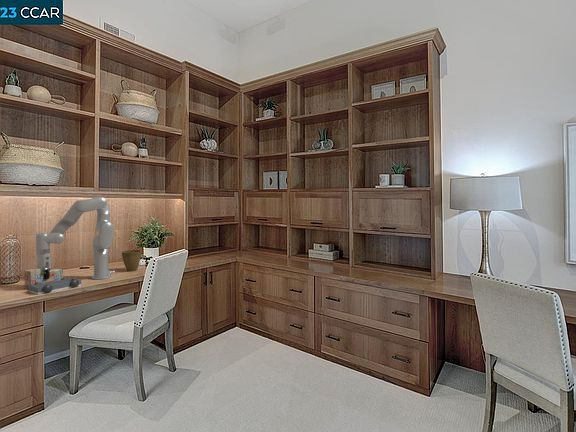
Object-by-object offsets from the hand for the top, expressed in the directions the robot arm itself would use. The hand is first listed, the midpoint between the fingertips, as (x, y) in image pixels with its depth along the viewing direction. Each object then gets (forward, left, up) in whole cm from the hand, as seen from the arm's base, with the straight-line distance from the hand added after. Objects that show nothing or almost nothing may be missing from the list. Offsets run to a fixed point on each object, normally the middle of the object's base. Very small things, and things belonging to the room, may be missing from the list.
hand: (43, 277), depth 227 cm
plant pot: (-62, +5, -6) cm, 62 cm away
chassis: (-1, +15, -5) cm, 16 cm away
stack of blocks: (-1, 0, -6) cm, 6 cm away
